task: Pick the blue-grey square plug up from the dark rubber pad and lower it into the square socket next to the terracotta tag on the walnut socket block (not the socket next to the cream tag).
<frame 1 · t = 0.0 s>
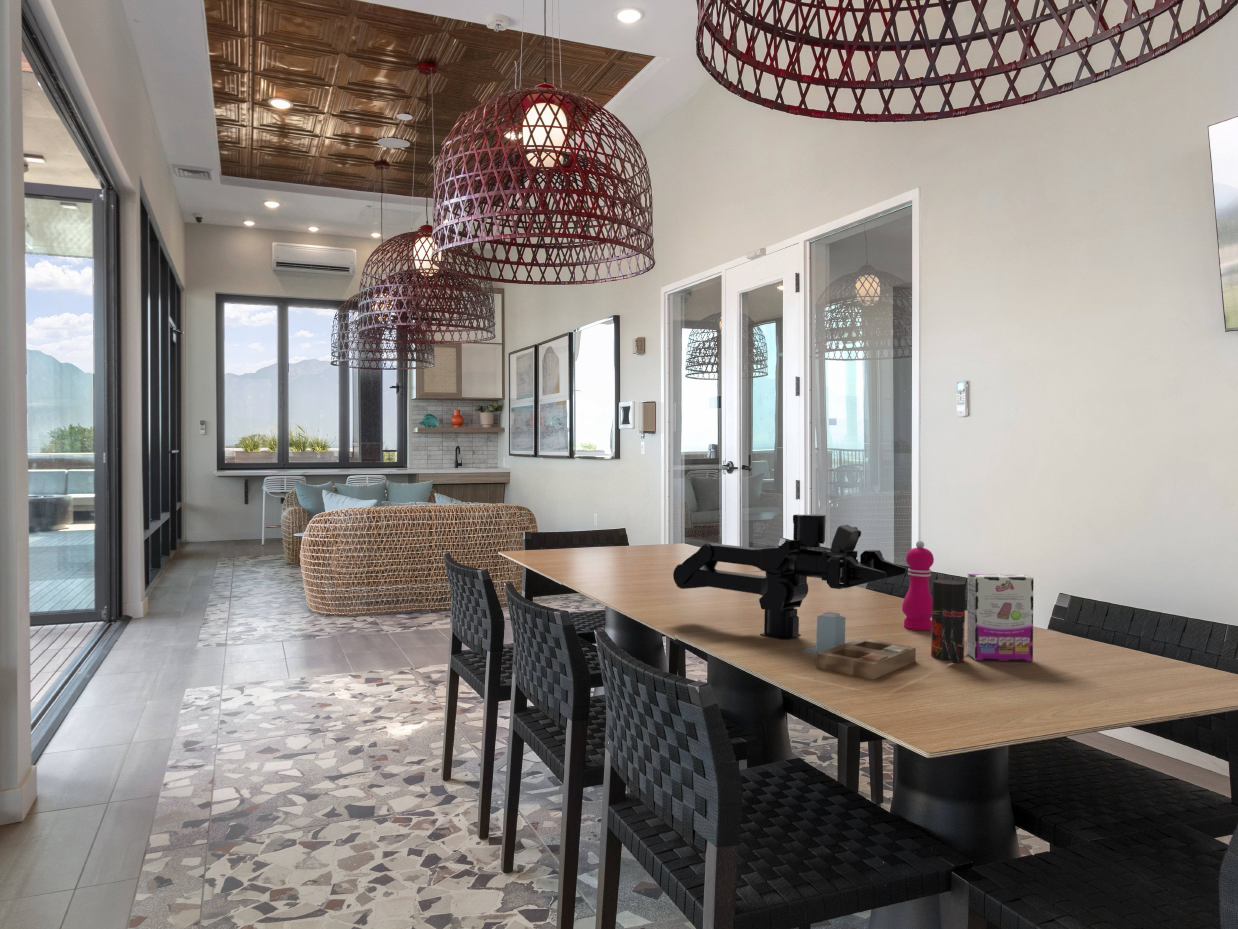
hand: (896, 573, 161), 17 cm above the table, tool horizontal, fingers open, 9 cm apart
pepper mill: (918, 628, 191), on the table
candy bar box: (998, 659, 163), on the table
deodorant: (947, 660, 161), on the table
socket block: (866, 666, 154), on the table
plug: (830, 651, 164), resting on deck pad
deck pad: (830, 653, 164), on the table
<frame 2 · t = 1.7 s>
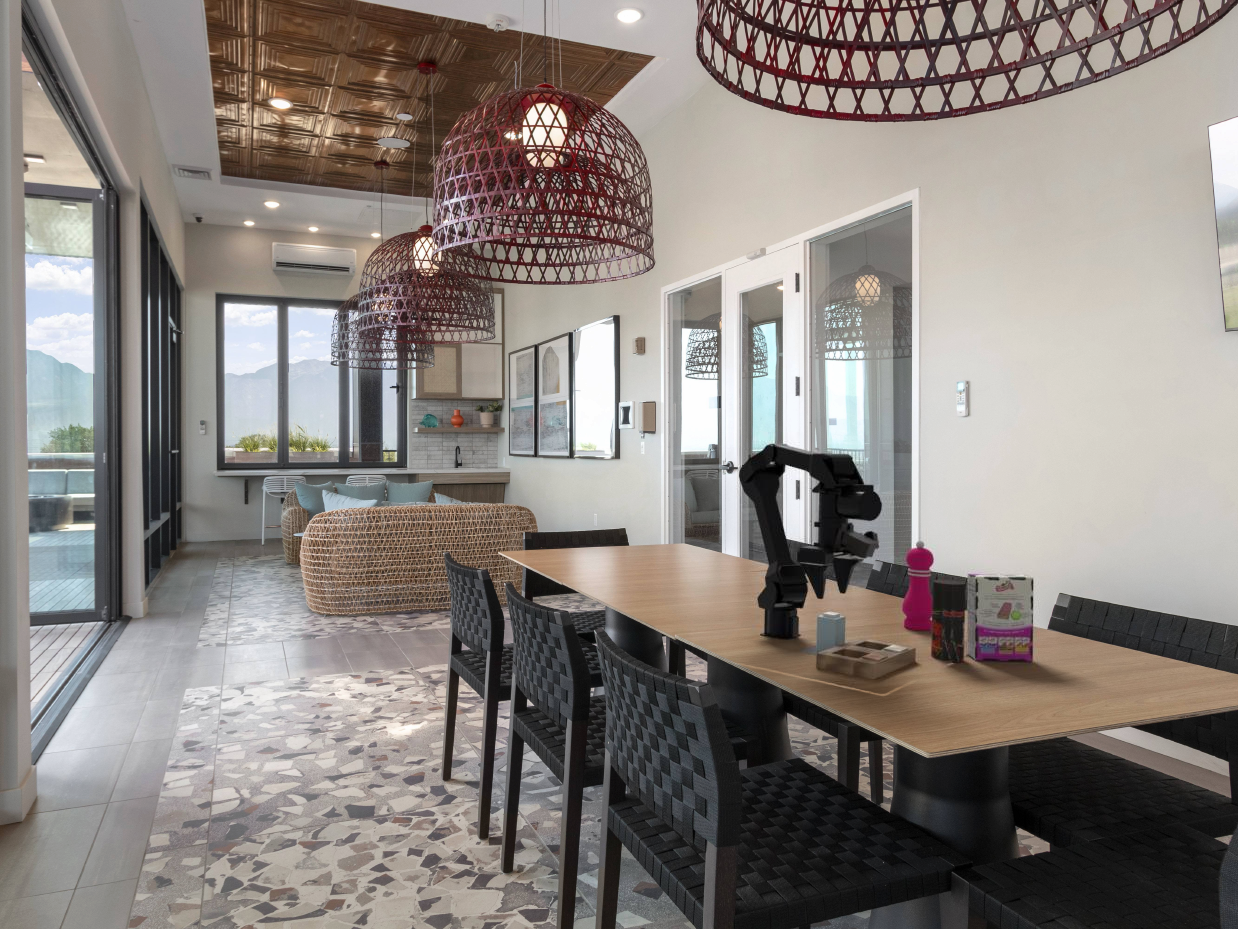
hand: (831, 596, 164), 11 cm above the table, tool pointing down, fingers open, 9 cm apart
nothing on the table moved.
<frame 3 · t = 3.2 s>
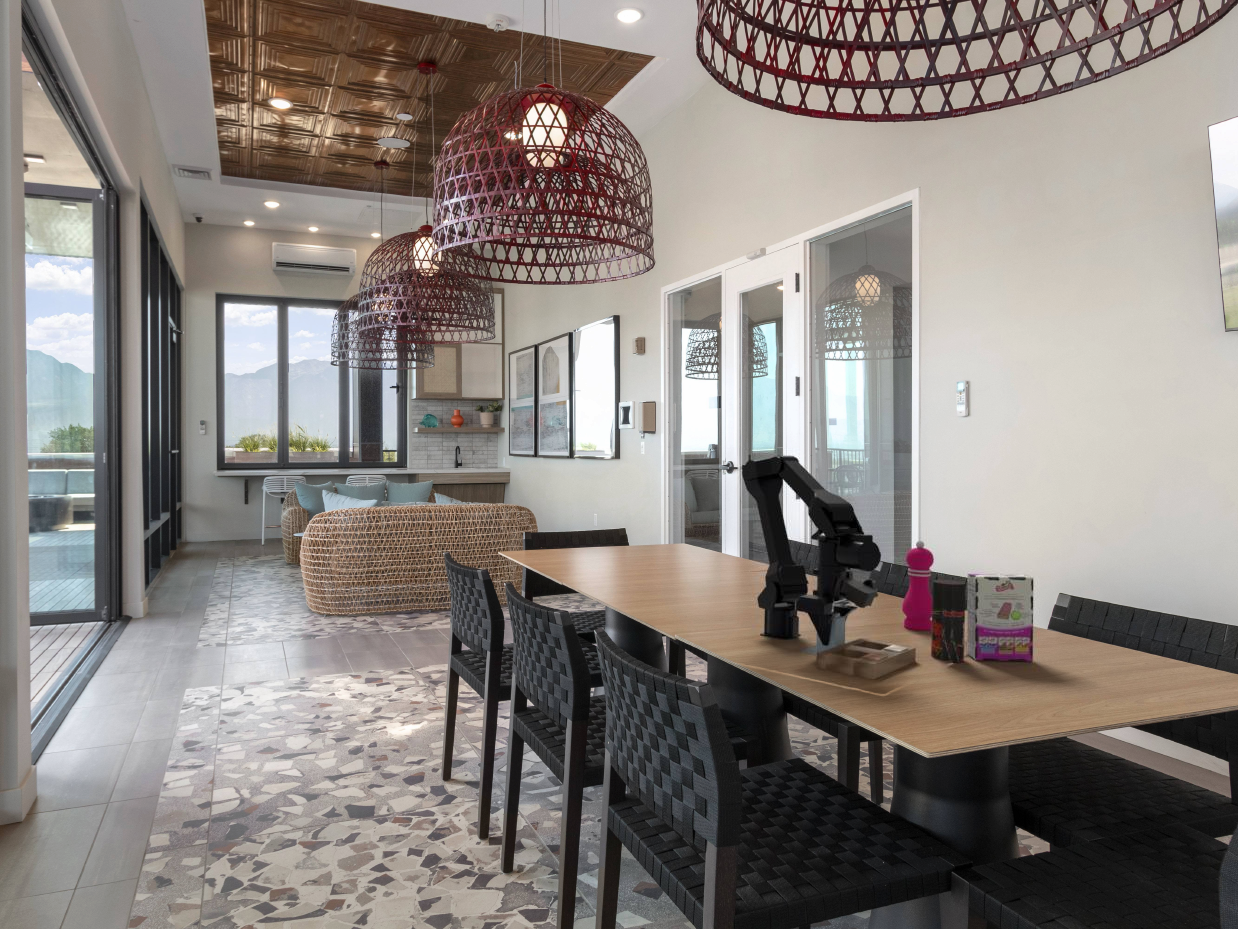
hand: (830, 643, 164), 2 cm above the table, tool pointing down, fingers closed on plug, 4 cm apart
plug: (830, 651, 164), resting on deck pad, touching gripper
everything else where it was.
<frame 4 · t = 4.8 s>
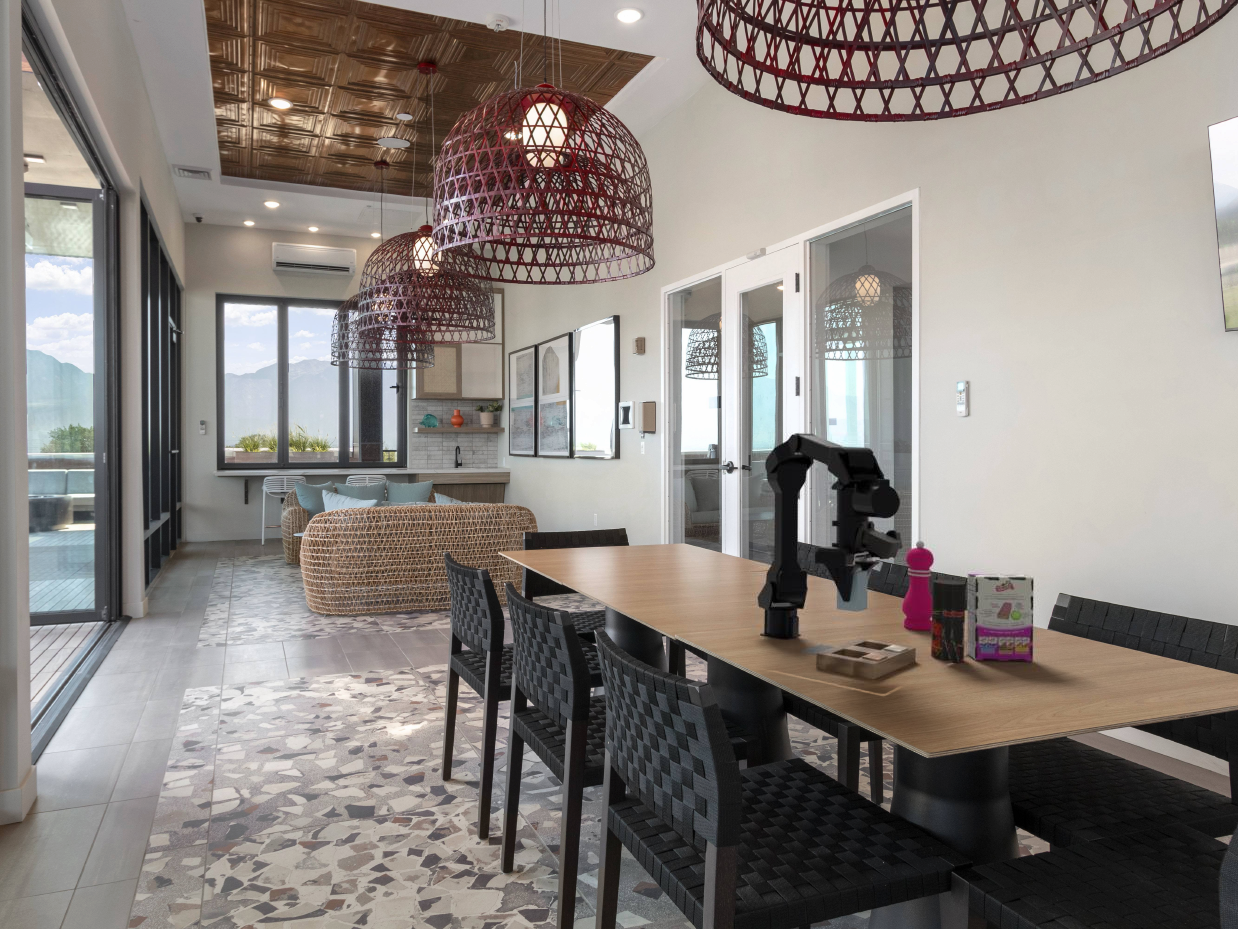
hand: (851, 600, 152), 13 cm above the table, tool pointing down, fingers closed on plug, 4 cm apart
plug: (852, 609, 152), point 11 cm above the table, touching gripper
everything else where it was.
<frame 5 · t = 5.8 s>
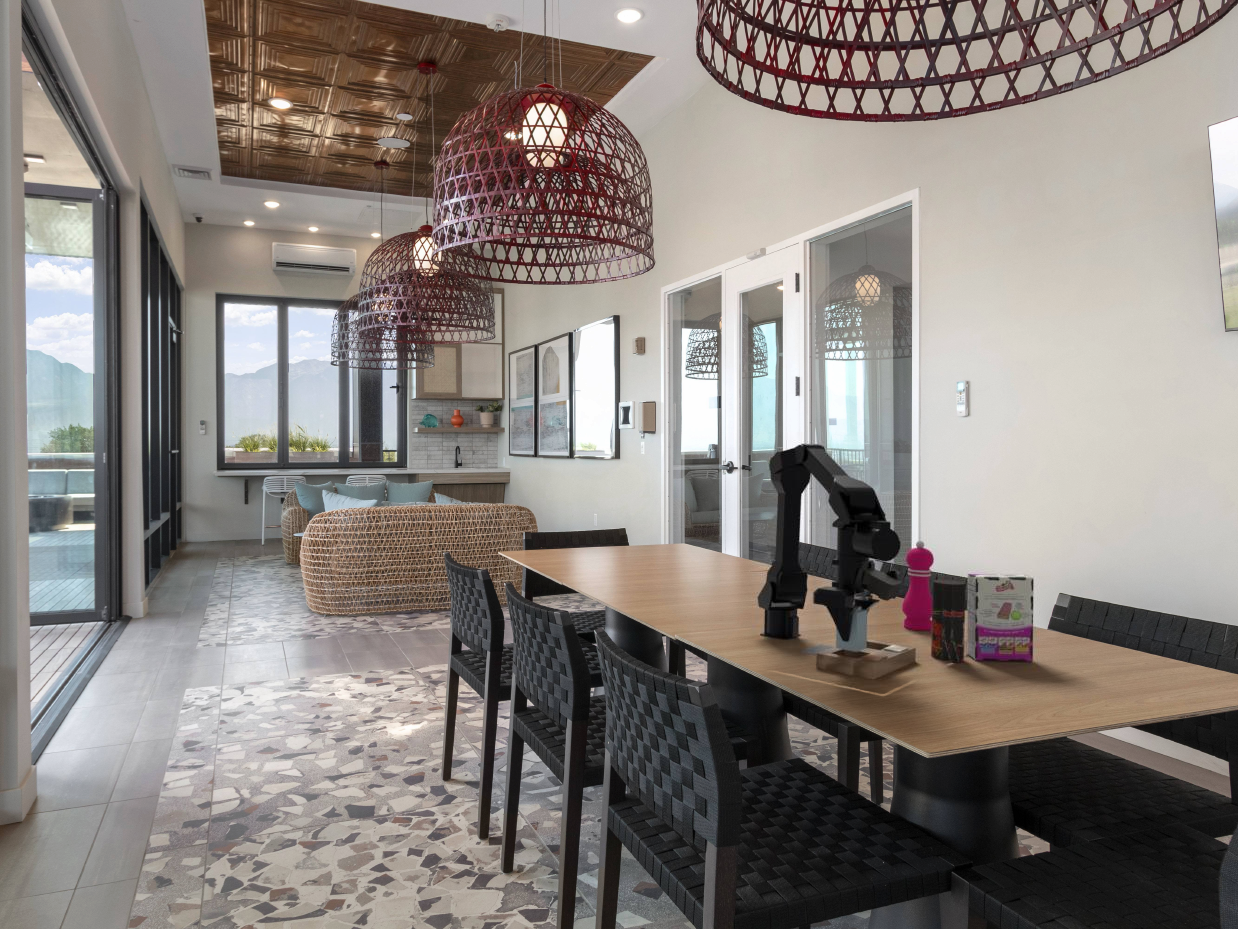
hand: (851, 639, 152), 6 cm above the table, tool pointing down, fingers closed on plug, 4 cm apart
plug: (851, 648, 152), point 4 cm above the table, touching gripper
everything else where it was.
when the fingers open (4 cm above the table, at t = 6.4 s): plug drops 2 cm, resting in socket block.
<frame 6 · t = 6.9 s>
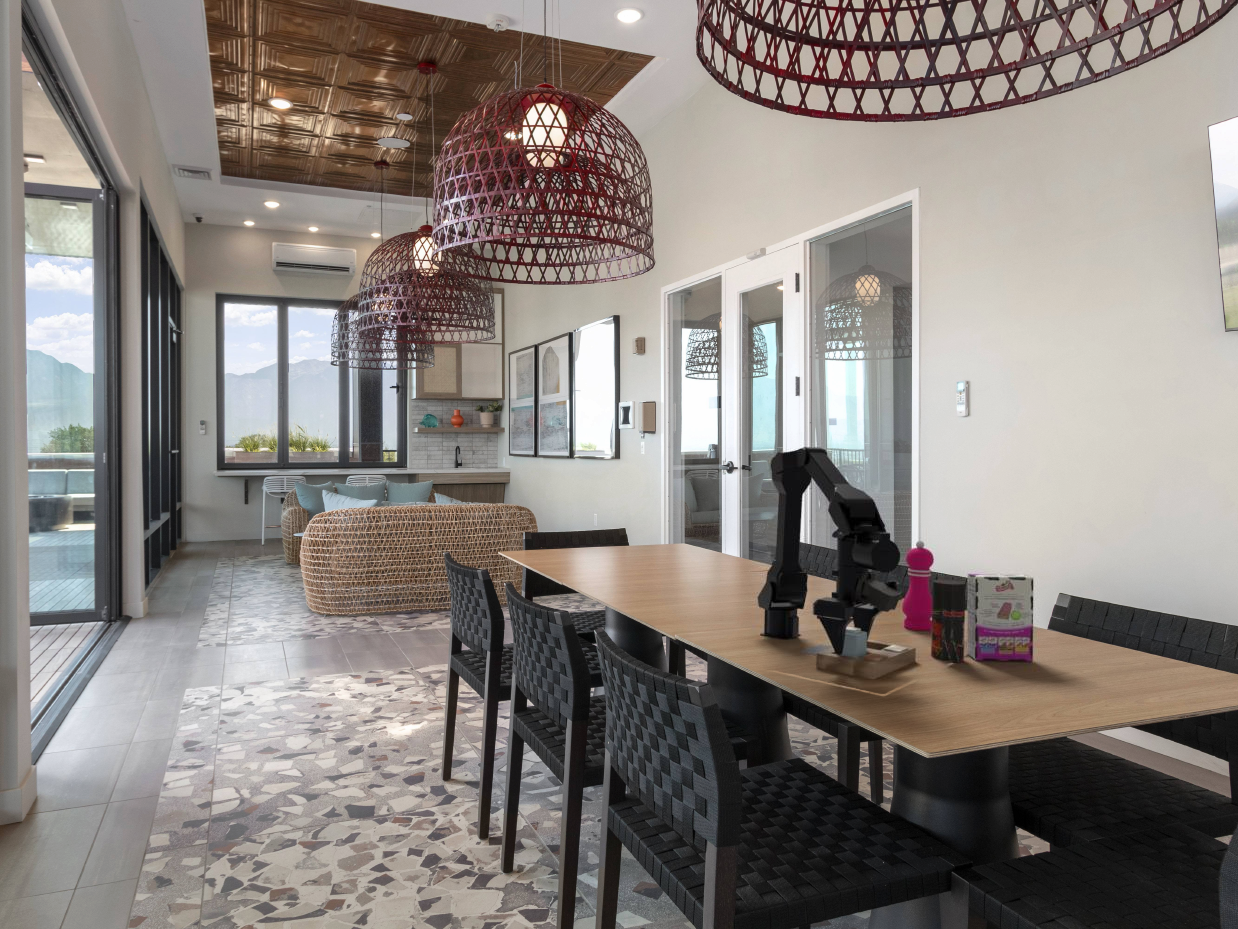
hand: (850, 650, 152), 4 cm above the table, tool pointing down, fingers open, 9 cm apart
plug: (850, 670, 152), resting in socket block
everything else where it was.
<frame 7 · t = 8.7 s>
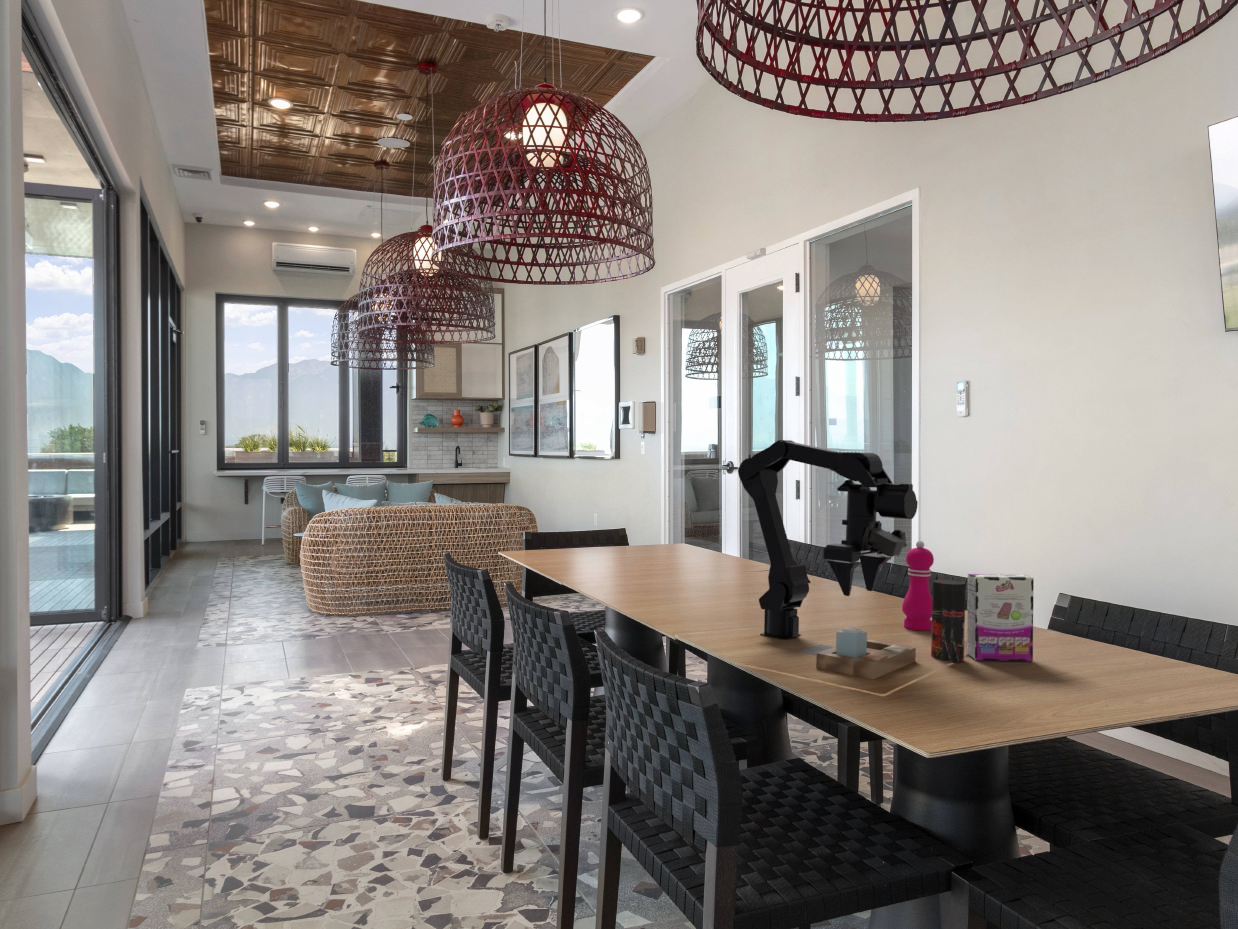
hand: (858, 593, 166), 12 cm above the table, tool pointing down, fingers open, 9 cm apart
nothing on the table moved.
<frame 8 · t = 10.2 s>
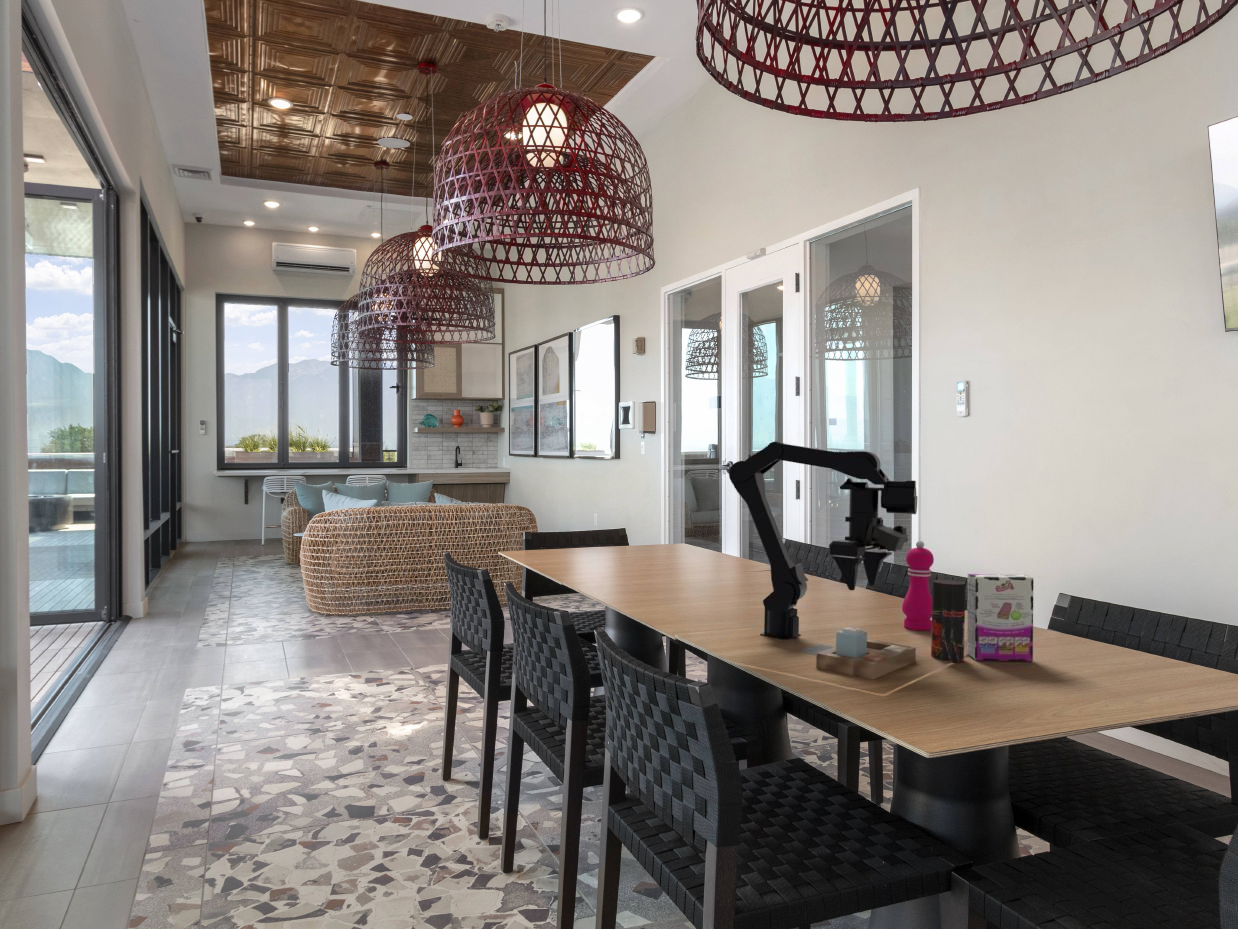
hand: (862, 587, 171), 12 cm above the table, tool pointing down, fingers open, 9 cm apart
nothing on the table moved.
at the end: plug 0.0 cm from the target spot on the socket block, point 0.0 cm above the socket block's base; plug tilted 0°; the gripper is holding nothing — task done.
